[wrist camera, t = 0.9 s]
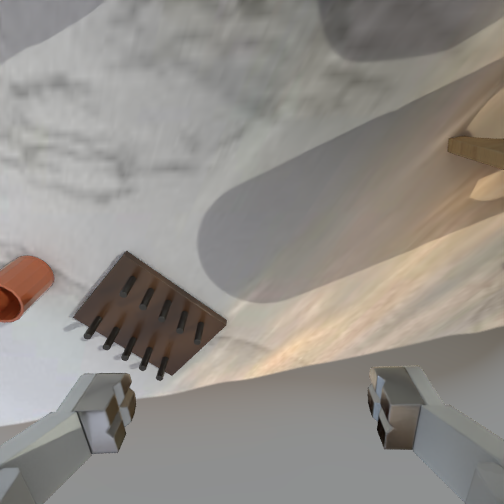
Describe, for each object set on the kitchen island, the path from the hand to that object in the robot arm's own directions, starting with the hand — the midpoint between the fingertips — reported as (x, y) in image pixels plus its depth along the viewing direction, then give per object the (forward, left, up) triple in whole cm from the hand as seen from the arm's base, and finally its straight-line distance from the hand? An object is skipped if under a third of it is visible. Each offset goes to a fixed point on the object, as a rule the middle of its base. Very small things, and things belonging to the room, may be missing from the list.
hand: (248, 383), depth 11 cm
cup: (-13, -32, -33) cm, 47 cm away
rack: (+4, -26, -33) cm, 43 cm away
